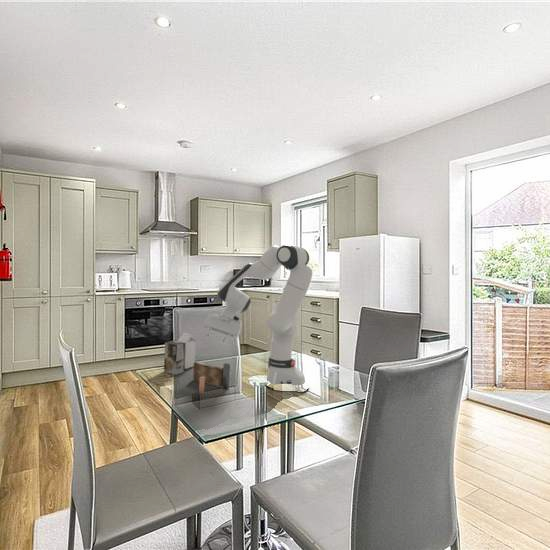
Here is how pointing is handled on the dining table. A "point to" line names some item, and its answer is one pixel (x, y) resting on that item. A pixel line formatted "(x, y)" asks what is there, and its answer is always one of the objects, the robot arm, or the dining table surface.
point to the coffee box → (174, 357)
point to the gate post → (226, 376)
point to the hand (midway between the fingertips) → (216, 338)
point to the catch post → (202, 385)
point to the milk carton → (188, 350)
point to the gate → (208, 373)
